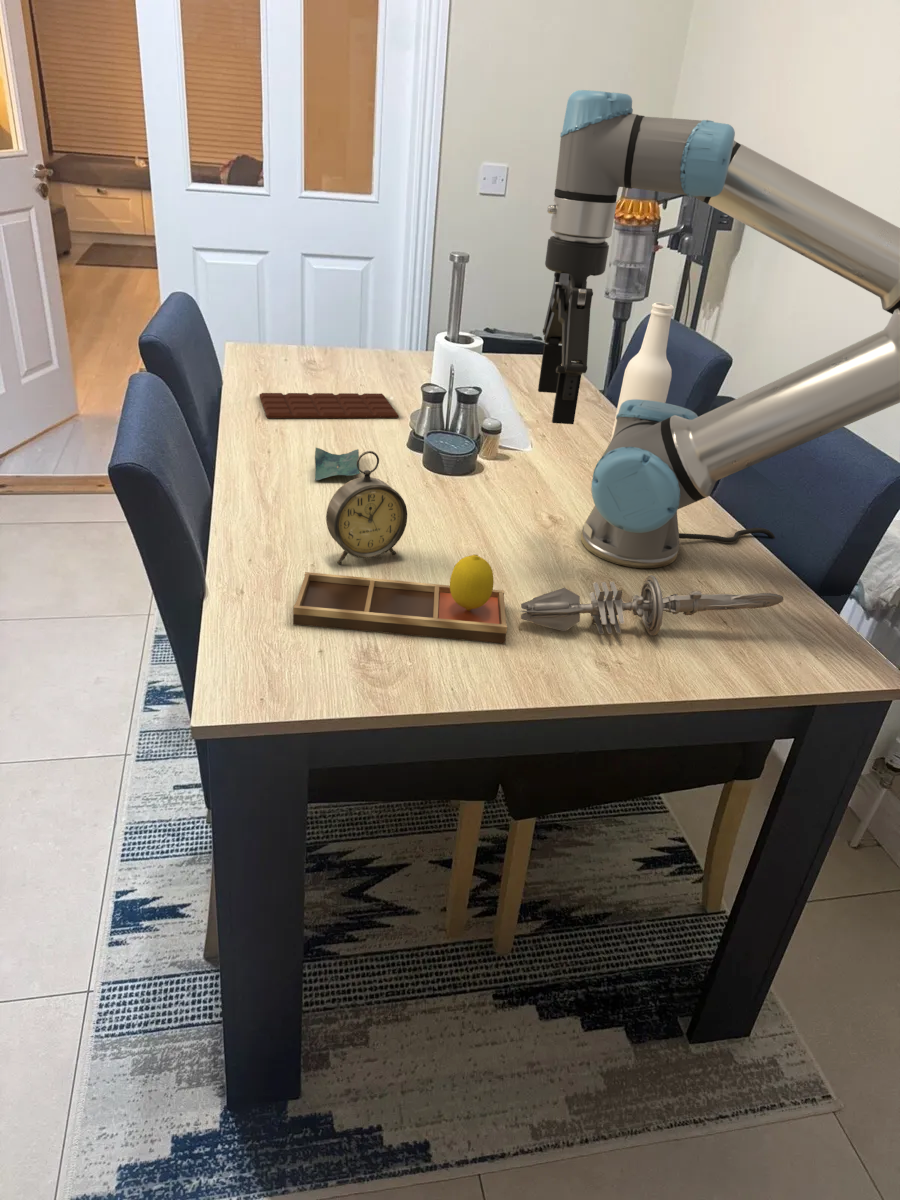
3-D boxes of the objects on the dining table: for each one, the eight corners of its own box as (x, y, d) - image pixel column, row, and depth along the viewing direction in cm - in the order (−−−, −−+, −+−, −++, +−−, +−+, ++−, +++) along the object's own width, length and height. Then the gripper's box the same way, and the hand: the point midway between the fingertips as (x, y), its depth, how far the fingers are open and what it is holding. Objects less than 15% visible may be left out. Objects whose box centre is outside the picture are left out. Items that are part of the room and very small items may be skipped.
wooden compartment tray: (501, 606, 114) (504, 590, 113) (504, 643, 106) (507, 627, 105) (304, 588, 113) (305, 571, 112) (293, 624, 105) (293, 607, 104)
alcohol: (603, 461, 167) (635, 304, 152) (612, 448, 174) (644, 296, 159) (647, 471, 164) (684, 312, 149) (654, 457, 172) (691, 305, 156)
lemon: (485, 624, 107) (493, 569, 103) (443, 616, 107) (449, 561, 103) (492, 603, 111) (500, 549, 107) (451, 595, 112) (457, 542, 108)
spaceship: (803, 605, 106) (783, 556, 111) (528, 618, 104) (520, 568, 109) (781, 640, 113) (764, 593, 118) (522, 654, 110) (514, 605, 115)
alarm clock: (334, 570, 118) (338, 461, 110) (321, 553, 122) (323, 447, 114) (405, 560, 123) (414, 454, 115) (390, 543, 127) (397, 440, 119)
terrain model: (360, 483, 145) (360, 473, 144) (314, 483, 144) (313, 472, 143) (358, 456, 156) (358, 446, 155) (315, 455, 155) (315, 446, 154)
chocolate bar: (383, 397, 188) (383, 392, 187) (398, 417, 177) (398, 413, 176) (259, 396, 179) (259, 392, 179) (267, 418, 168) (267, 413, 168)
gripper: (535, 222, 114) (517, 378, 125) (565, 250, 93) (539, 435, 103) (590, 227, 115) (567, 382, 125) (632, 255, 93) (600, 439, 104)
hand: (554, 406), depth 114 cm, fingers open, 13 cm apart
